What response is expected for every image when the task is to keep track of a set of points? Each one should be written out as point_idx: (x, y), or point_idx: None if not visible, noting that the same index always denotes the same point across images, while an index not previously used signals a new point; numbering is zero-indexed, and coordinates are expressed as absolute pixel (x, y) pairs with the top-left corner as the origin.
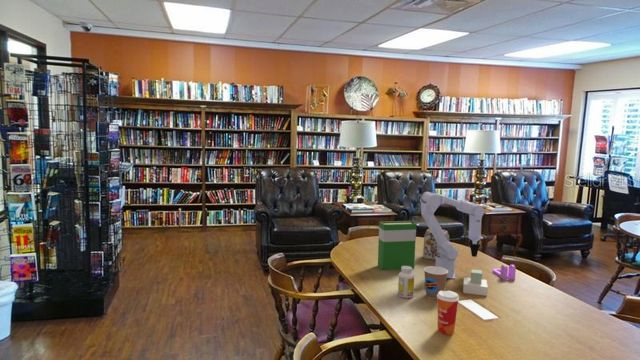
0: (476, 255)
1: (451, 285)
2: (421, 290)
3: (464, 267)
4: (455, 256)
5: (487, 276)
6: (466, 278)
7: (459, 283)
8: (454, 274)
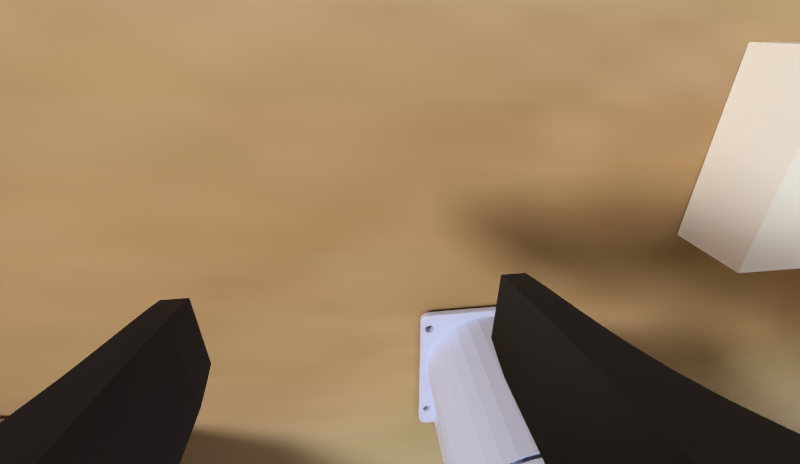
0: (544, 288)
1: (682, 303)
2: (761, 413)
3: (158, 257)
4: None
5: (358, 4)
6: (779, 250)
7: (637, 261)
8: (463, 316)
